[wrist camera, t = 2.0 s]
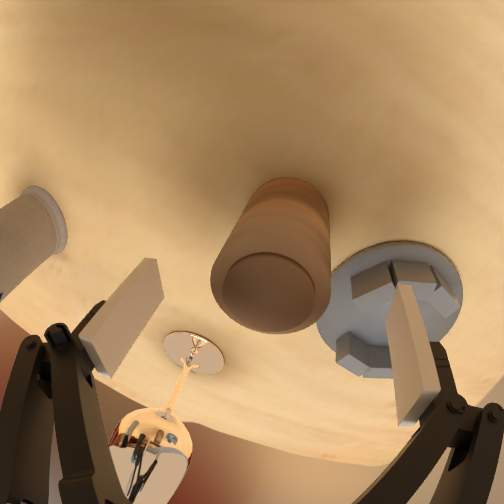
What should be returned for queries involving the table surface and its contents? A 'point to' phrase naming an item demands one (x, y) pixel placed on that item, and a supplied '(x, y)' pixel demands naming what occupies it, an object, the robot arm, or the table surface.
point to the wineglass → (161, 429)
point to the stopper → (276, 260)
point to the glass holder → (28, 236)
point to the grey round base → (386, 302)
